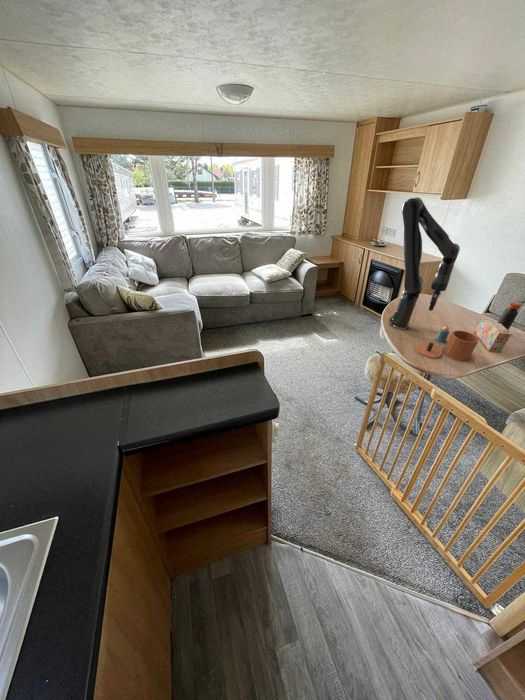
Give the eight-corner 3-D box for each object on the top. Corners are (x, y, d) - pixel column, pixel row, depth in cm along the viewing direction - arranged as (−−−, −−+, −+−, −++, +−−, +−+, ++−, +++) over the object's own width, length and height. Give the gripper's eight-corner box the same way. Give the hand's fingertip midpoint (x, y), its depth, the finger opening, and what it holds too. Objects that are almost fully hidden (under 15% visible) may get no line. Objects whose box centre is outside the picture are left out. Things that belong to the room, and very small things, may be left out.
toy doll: (435, 341, 173) (441, 326, 167) (437, 338, 176) (443, 324, 170) (444, 343, 170) (450, 329, 165) (445, 340, 173) (452, 326, 168)
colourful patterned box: (474, 332, 183) (483, 315, 176) (484, 333, 182) (494, 316, 175) (488, 350, 166) (499, 332, 159) (500, 352, 165) (512, 334, 158)
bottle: (506, 332, 184) (523, 304, 173) (504, 336, 180) (522, 307, 169) (493, 328, 188) (509, 300, 176) (491, 332, 184) (508, 304, 172)
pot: (441, 354, 160) (450, 336, 154) (446, 345, 169) (454, 328, 162) (466, 363, 154) (477, 345, 147) (470, 353, 162) (480, 335, 156)
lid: (412, 352, 162) (415, 343, 158) (418, 342, 170) (421, 334, 167) (438, 361, 155) (442, 353, 152) (443, 351, 164) (447, 342, 161)
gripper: (435, 276, 168) (426, 302, 177) (431, 283, 158) (422, 310, 167) (450, 279, 165) (440, 305, 173) (446, 285, 155) (436, 313, 163)
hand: (431, 307), depth 170 cm, fingers open, 8 cm apart
